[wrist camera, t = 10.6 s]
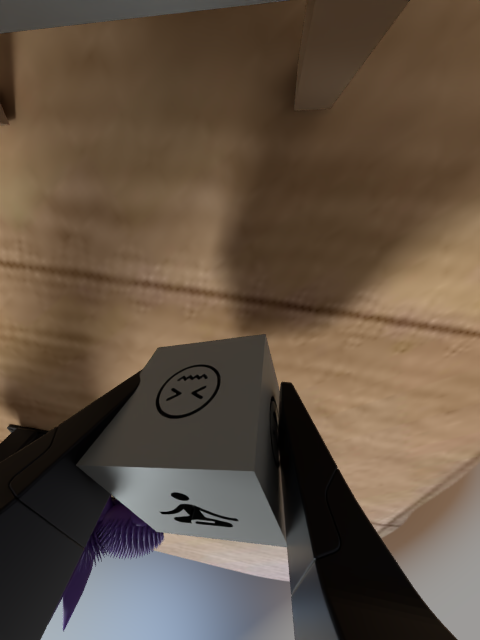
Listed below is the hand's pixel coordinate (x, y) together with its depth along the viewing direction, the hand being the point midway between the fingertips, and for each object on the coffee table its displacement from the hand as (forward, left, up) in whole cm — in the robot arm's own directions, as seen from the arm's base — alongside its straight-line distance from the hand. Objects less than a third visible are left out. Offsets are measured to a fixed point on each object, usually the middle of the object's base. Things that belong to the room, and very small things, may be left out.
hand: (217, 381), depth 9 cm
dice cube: (-1, 0, -1) cm, 2 cm away
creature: (-34, +17, -5) cm, 38 cm away
